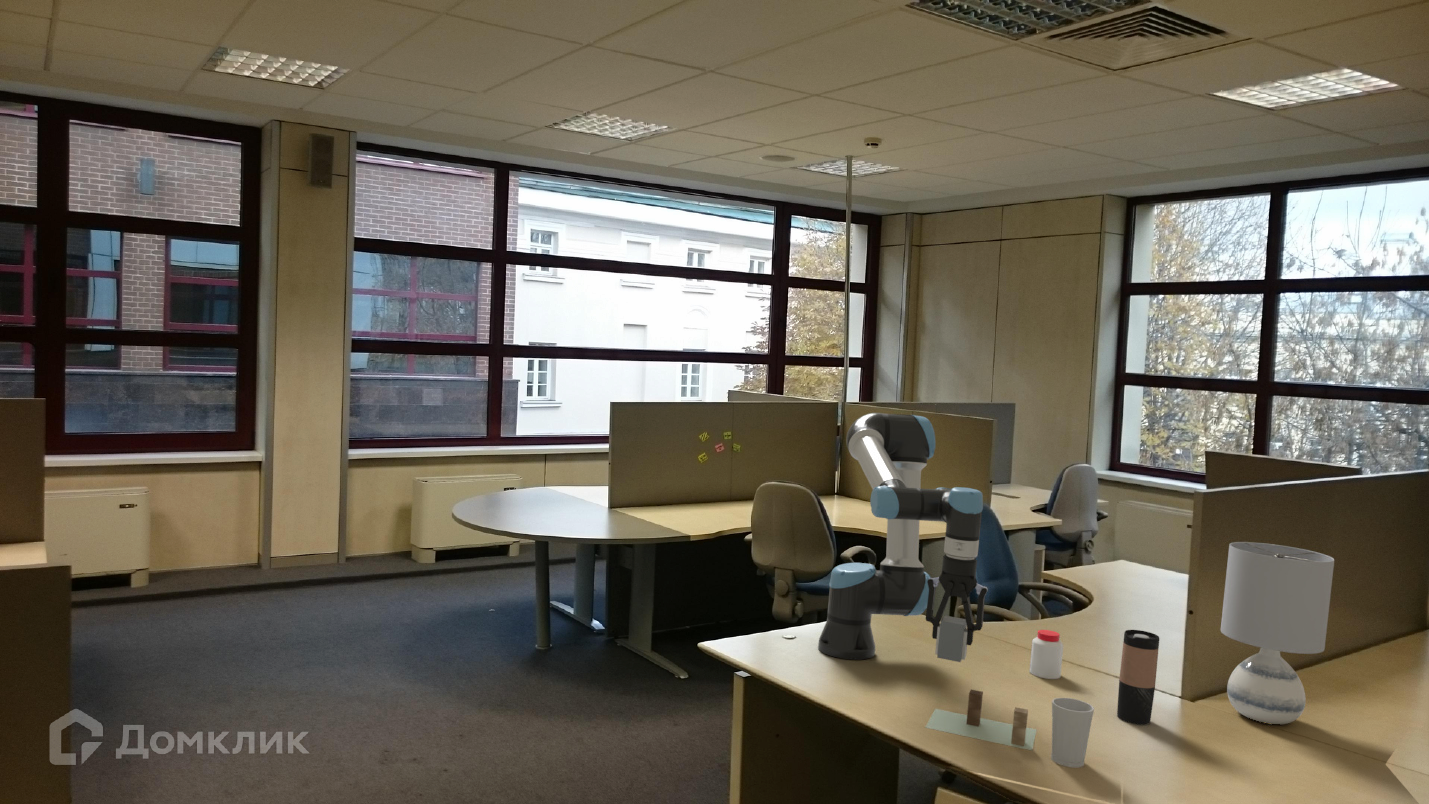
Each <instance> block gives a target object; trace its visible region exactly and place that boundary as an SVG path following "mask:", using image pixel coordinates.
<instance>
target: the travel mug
mask: <svg viewBox="0 0 1429 804" xmlns="http://www.w3.org/2000/svg"><path fill="white" fill-rule="evenodd" d="M1123 634H1124V635H1123V641H1122V651H1121V652H1122V654H1121V661H1120V669H1119V677H1118V678H1119V680H1118V681H1119V682H1118V695H1117V697H1118V698H1117V709H1116V710H1117V711H1116V717H1117V718H1118V719H1119V720H1121V721H1123V722H1126V723H1129V724H1133V725H1139V726H1146V725H1149V724H1150V723H1151V719H1152V712H1153V704H1154V696H1155V688H1156V682H1157V671H1158V670H1157V668H1158V657H1159V647H1160V636H1159V635H1157V634H1156V633H1154V632H1150V631H1145V630H1140V629H1127V630H1125V631H1124V632H1123Z"/></svg>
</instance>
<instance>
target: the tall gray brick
mask: <svg viewBox="0 0 1429 804" xmlns="http://www.w3.org/2000/svg"><path fill="white" fill-rule="evenodd" d="M965 629H967V624H966V619H965V618H961V617H956V616H955V617H954V616H949V615H944V616H942V618H941V620H940V634H939V644H938V655H937V659H941V660H942V659H943V660H948V661H951V662H958V663H961V662H962V659H961V658H962V647H963V637H964V631H965Z"/></svg>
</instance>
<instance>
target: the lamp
mask: <svg viewBox="0 0 1429 804" xmlns="http://www.w3.org/2000/svg"><path fill="white" fill-rule="evenodd" d="M1228 545H1229V546H1228V554H1227V555H1228V556H1227V566H1226V573H1225V574H1226V575H1225V583H1224V594H1223V602H1222V603H1223V604H1222V612H1221V613H1222V615H1221V624H1220V632H1221V634H1223V635H1224V636H1226V637H1227V638H1229V639H1231V640H1234V641H1235V642H1237V641H1238V643H1239V642H1240V643H1242V644H1246V645H1250V646H1253V647H1255V648H1259V652H1258V653H1257V652H1256V653H1255V654H1252V655H1251V656H1249V657H1247V658H1245V659H1244V660H1243V661H1241V662H1240V663H1239V664H1238V665H1237V666H1235V668H1234V670H1233V671H1232V672H1231V674H1230V675H1229V678H1228V681H1227V686H1226V692H1227V697H1228V700H1229V703H1230V704H1231V706H1232V707H1233V708H1234V709H1235V711H1237V712H1238V713H1239V714H1240V715H1242V716H1244V717H1246V718H1247V719H1249V718H1250V720H1251V719H1253V720H1252V721H1254V720H1256V721H1255V722H1257V721H1259V722H1258V723H1261V722H1266V723H1271V724H1270V725H1272V724H1280V725H1287V724H1290V723H1293V722H1294V721H1296V720H1298V719H1299V718H1300V717H1301V715H1302V714H1303V712H1304V710H1305V708H1306V700H1307V699H1306V693H1305V692H1306V691H1305V688H1304V685H1303V683H1302V681H1301V679H1300V677H1299V675H1298V673H1297V672H1296V671H1295V669H1294V668H1293V667H1292V666H1291V665H1290V664H1289V663H1288V662H1287V661H1286V660H1285V659H1284V658H1283V657H1282V656H1281V652H1284V653H1289V654H1300V655H1301V654H1303V655H1304V654H1306V655H1314V654H1319V653H1320V654H1321V653H1324V651H1325V649H1326V638H1327V631H1328V630H1327V629H1328V620H1329V613H1330V612H1329V611H1330V603H1331V596H1332V595H1331V594H1332V593H1331V592H1332V583H1333V574H1334V569H1335V559H1334V557H1332V556H1330V555H1326V554H1324V553H1320V552H1317V551H1312V550H1309V549H1304V548H1298V547H1293V546H1288V545H1281V544H1280V545H1279V544H1273V543H1272V544H1271V543H1263V542H1249V541H1235V542H1231V543H1229V544H1228Z"/></svg>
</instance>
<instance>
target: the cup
mask: <svg viewBox="0 0 1429 804" xmlns="http://www.w3.org/2000/svg"><path fill="white" fill-rule="evenodd" d="M1094 710H1095V707H1094V706H1093V705H1092V704H1091V703H1088V702H1087V701H1083V700H1080V699H1077V698H1071V697H1055V698H1053V699H1052V700H1051V721H1052V722H1051V723H1052V724H1051V725H1052V726H1051V757H1050V760H1052V761H1053V762H1054V763H1055V764H1058V765H1060V766H1063V767H1067V768H1082V767H1084V766H1085V758H1086V754H1087V748H1088V743H1089V738H1090V732H1091V726H1092V720H1093V716H1094V713H1095V712H1094Z"/></svg>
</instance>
